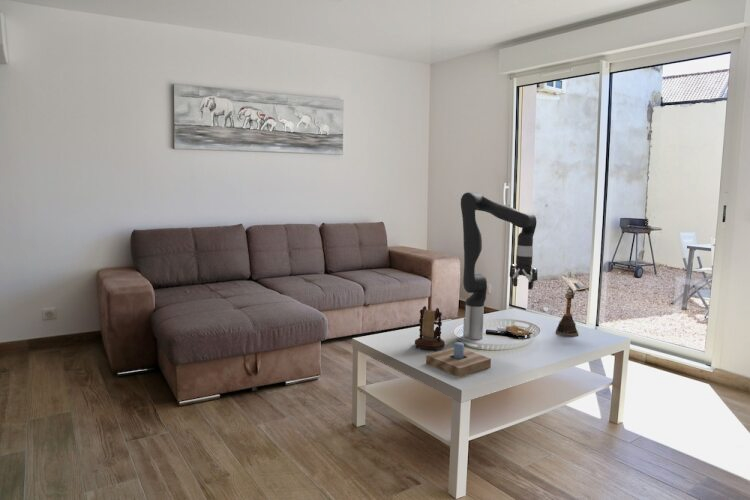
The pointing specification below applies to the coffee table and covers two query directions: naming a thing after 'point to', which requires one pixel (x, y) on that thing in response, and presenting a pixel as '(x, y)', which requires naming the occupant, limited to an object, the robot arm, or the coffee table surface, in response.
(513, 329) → the decorative rock
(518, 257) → the robot arm
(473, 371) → the socket block
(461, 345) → the peg
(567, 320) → the bird statue
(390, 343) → the coffee table surface
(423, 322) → the scroll
